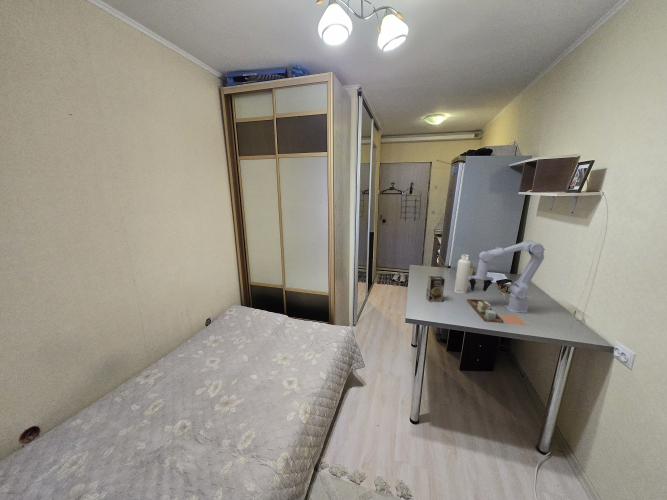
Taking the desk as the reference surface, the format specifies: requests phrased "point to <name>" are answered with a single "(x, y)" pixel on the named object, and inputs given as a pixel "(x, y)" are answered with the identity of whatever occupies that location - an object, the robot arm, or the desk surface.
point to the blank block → (490, 314)
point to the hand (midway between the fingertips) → (478, 290)
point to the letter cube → (483, 306)
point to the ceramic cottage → (473, 272)
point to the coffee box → (435, 289)
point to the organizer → (482, 314)
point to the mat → (512, 319)
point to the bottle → (462, 274)
